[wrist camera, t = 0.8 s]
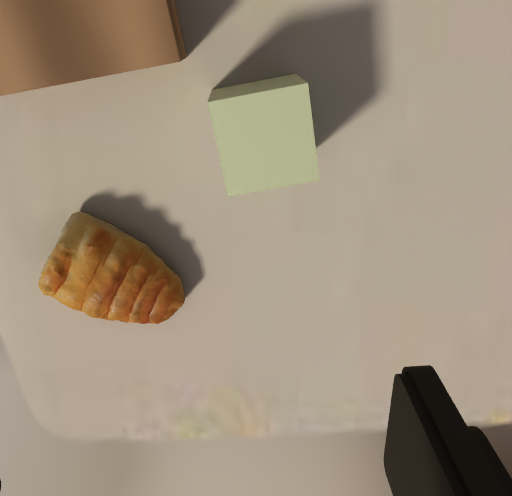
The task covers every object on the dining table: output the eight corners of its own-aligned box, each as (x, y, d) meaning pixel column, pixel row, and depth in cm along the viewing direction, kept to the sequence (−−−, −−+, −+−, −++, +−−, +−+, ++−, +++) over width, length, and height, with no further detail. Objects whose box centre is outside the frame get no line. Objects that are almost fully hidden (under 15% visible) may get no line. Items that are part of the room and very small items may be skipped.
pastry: (203, 260, 32) (199, 289, 28) (163, 329, 34) (155, 363, 31) (74, 199, 29) (53, 223, 26) (41, 278, 32) (17, 309, 29)
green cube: (295, 73, 26) (307, 83, 22) (306, 156, 29) (319, 180, 24) (212, 89, 27) (207, 102, 22) (228, 170, 29) (228, 196, 24)
